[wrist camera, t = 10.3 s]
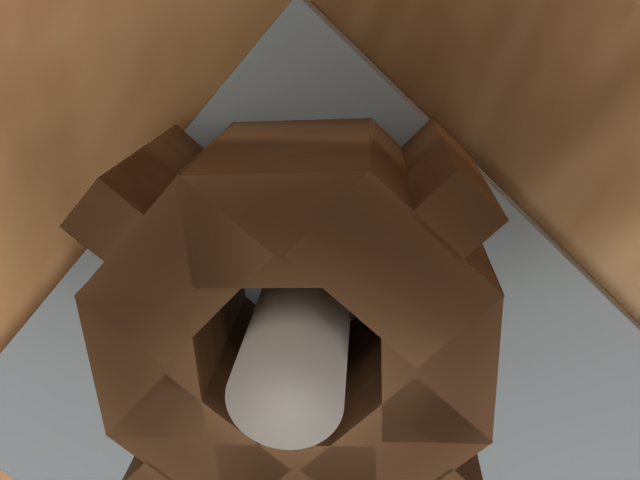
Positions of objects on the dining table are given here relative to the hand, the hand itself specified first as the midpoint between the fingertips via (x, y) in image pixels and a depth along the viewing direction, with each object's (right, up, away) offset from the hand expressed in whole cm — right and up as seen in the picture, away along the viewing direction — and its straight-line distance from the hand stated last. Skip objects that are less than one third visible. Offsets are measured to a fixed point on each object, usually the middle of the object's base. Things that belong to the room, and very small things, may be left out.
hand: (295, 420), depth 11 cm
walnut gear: (0, +3, +6) cm, 7 cm away
